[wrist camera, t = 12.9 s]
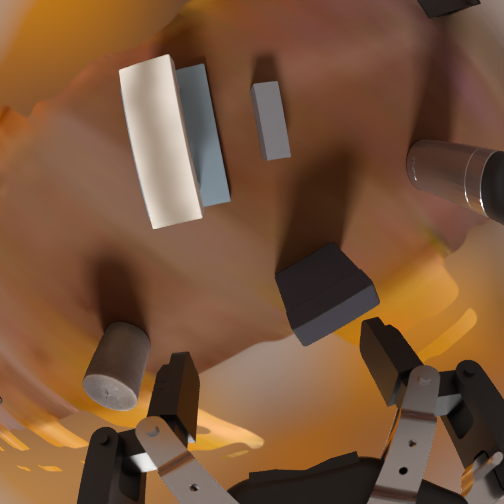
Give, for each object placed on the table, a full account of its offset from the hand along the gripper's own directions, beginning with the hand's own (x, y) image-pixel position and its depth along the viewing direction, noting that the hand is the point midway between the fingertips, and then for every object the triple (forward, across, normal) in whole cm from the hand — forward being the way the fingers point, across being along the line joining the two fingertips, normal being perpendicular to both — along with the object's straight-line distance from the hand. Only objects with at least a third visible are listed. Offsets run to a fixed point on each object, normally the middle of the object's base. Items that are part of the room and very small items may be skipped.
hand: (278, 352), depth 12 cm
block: (+31, -5, -11) cm, 33 cm away
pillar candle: (+30, +27, +22) cm, 46 cm away
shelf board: (+22, +8, -11) cm, 26 cm away
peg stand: (+30, +8, -11) cm, 33 cm away
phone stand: (+32, -42, -37) cm, 64 cm away
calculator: (+31, -8, +12) cm, 34 cm away
